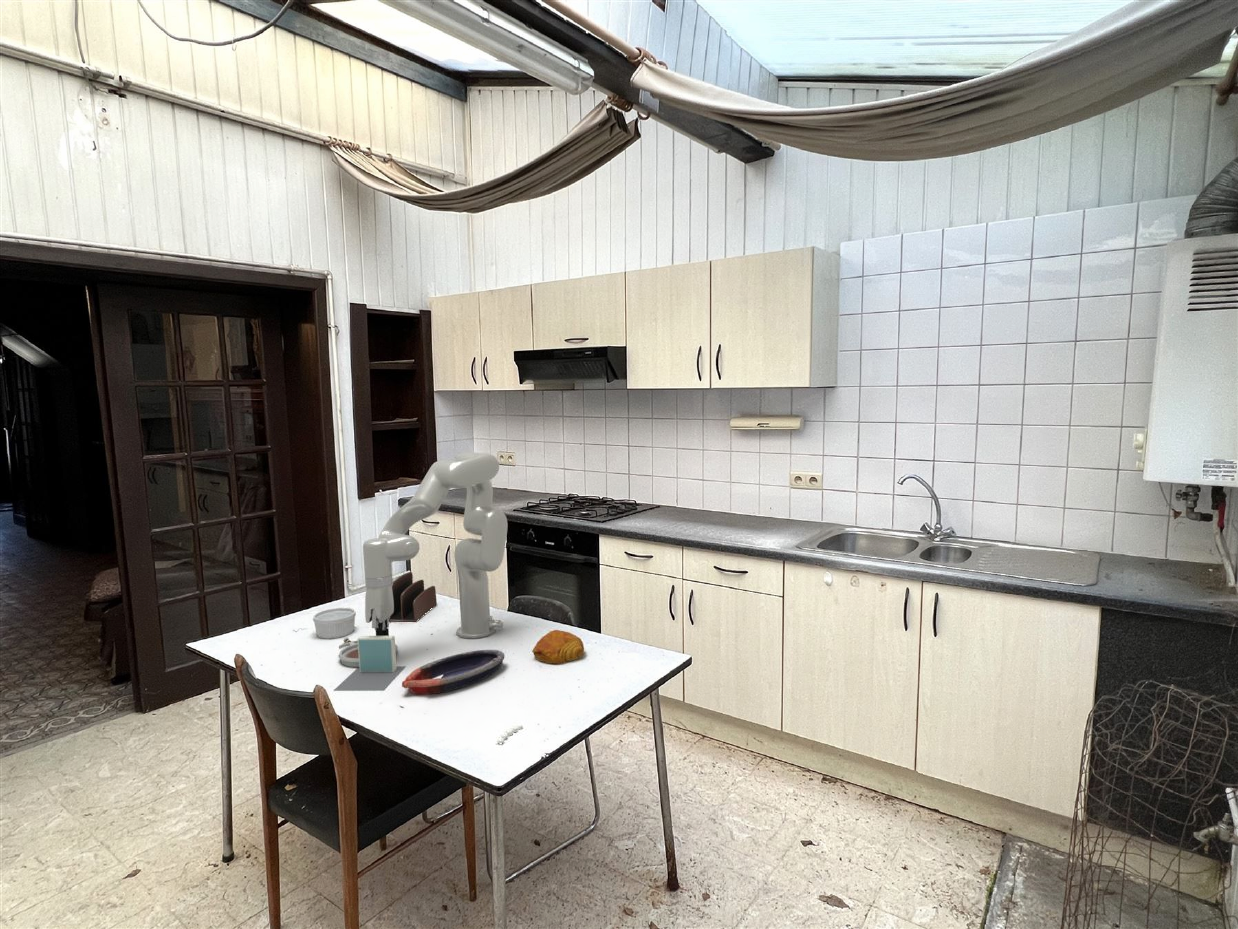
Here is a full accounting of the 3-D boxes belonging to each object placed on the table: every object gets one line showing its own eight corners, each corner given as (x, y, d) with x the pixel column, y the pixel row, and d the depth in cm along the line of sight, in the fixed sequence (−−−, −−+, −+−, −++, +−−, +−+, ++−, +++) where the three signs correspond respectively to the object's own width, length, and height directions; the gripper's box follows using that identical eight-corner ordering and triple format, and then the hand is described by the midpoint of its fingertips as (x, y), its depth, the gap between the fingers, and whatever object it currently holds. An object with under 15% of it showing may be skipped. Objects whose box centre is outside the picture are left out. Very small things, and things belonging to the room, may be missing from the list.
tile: (396, 669, 195) (394, 635, 194) (393, 672, 192) (391, 638, 191) (362, 669, 195) (360, 635, 194) (359, 672, 193) (356, 638, 192)
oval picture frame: (371, 629, 224) (407, 648, 203) (371, 637, 224) (407, 657, 204) (317, 641, 213) (350, 662, 192) (318, 650, 213) (350, 672, 192)
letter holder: (388, 623, 237) (386, 584, 235) (412, 605, 256) (409, 569, 255) (415, 623, 235) (413, 584, 234) (437, 605, 255) (435, 569, 254)
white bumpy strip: (520, 722, 163) (521, 715, 163) (535, 728, 161) (536, 722, 161) (480, 751, 150) (480, 744, 150) (496, 758, 148) (496, 752, 148)
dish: (517, 672, 192) (516, 656, 191) (414, 707, 172) (412, 688, 171) (490, 657, 203) (489, 641, 203) (390, 688, 184) (389, 670, 183)
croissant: (560, 649, 213) (558, 624, 213) (593, 655, 202) (590, 629, 202) (523, 662, 203) (520, 635, 203) (555, 669, 192) (552, 641, 192)
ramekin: (365, 630, 229) (363, 610, 228) (330, 643, 218) (328, 622, 217) (340, 624, 236) (339, 605, 236) (306, 636, 225) (304, 616, 225)
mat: (406, 667, 197) (405, 666, 196) (384, 692, 181) (384, 690, 181) (359, 668, 197) (359, 666, 197) (333, 692, 181) (333, 690, 181)
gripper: (377, 574, 203) (380, 633, 205) (354, 588, 189) (359, 652, 190) (401, 574, 203) (404, 633, 205) (381, 588, 188) (385, 652, 190)
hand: (382, 642), depth 198 cm, fingers closed
